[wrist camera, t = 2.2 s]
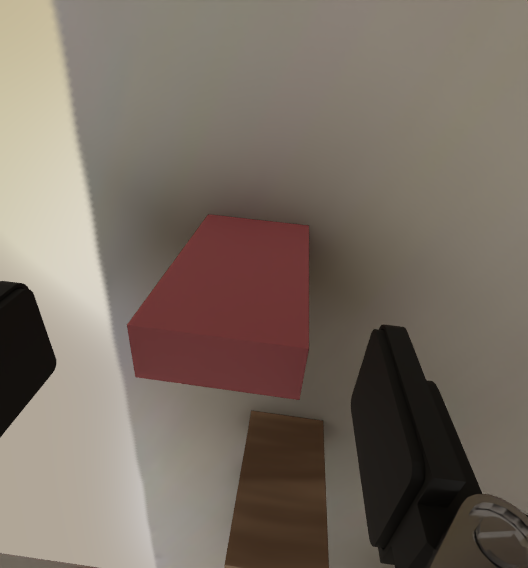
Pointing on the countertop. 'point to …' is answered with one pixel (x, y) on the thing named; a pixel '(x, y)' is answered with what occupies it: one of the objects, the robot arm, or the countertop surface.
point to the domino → (280, 496)
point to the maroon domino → (230, 310)
